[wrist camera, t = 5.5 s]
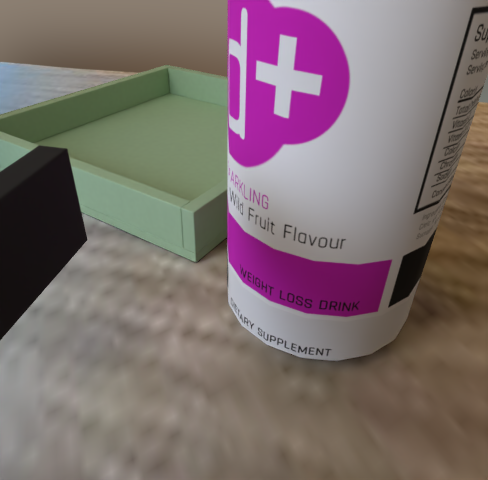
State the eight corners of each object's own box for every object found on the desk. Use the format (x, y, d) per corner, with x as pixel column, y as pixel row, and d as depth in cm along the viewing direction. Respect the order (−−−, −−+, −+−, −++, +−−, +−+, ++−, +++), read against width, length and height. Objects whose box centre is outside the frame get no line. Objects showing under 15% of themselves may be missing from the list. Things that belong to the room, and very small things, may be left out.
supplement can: (278, 401, 16) (335, -112, 8) (202, 271, 23) (188, -98, 14) (443, 336, 19) (618, -93, 11) (336, 237, 25) (393, -88, 17)
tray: (346, 139, 37) (352, 102, 36) (196, 263, 23) (193, 212, 21) (169, 95, 46) (166, 64, 44) (-22, 166, 32) (-36, 125, 30)
